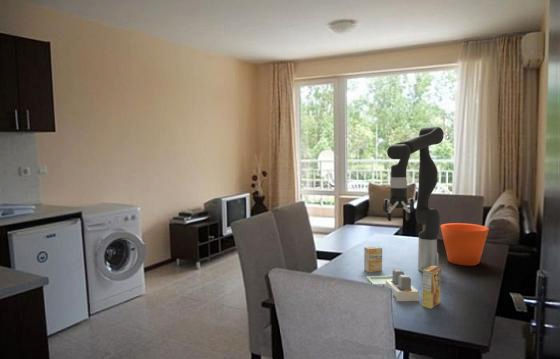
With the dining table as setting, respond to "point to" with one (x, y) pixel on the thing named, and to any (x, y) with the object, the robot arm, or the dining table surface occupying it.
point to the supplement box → (372, 259)
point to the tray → (379, 279)
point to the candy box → (431, 286)
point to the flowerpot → (464, 242)
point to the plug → (396, 275)
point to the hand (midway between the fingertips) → (398, 220)
